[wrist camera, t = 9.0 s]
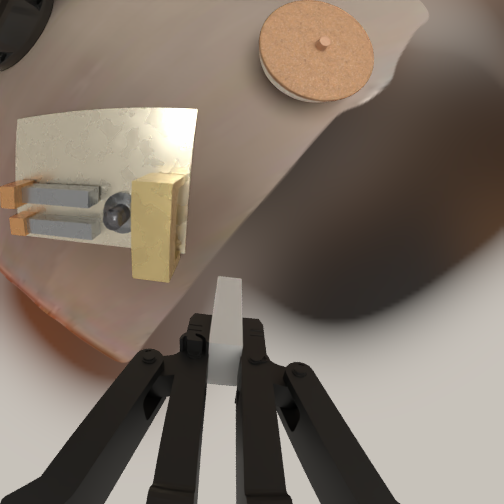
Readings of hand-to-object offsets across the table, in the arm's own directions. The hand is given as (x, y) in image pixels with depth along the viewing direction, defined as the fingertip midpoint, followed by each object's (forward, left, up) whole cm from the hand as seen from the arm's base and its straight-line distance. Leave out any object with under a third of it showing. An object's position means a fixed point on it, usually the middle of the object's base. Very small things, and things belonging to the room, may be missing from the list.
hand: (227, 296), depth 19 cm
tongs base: (-18, -6, -17) cm, 25 cm away
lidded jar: (-5, +20, -17) cm, 26 cm away
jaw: (-22, -10, -16) cm, 28 cm away
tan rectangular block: (-7, -4, -16) cm, 17 cm away
